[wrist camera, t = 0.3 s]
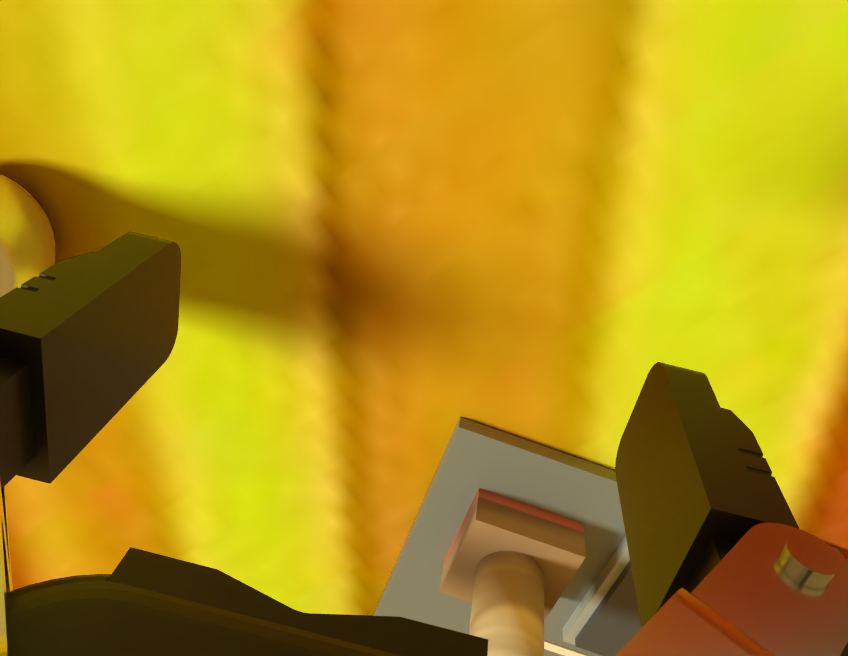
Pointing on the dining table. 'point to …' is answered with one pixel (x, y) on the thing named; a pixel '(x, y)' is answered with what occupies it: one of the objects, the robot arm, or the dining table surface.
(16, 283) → the plastic bottle
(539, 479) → the desk board
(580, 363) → the dining table surface
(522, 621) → the stamp
